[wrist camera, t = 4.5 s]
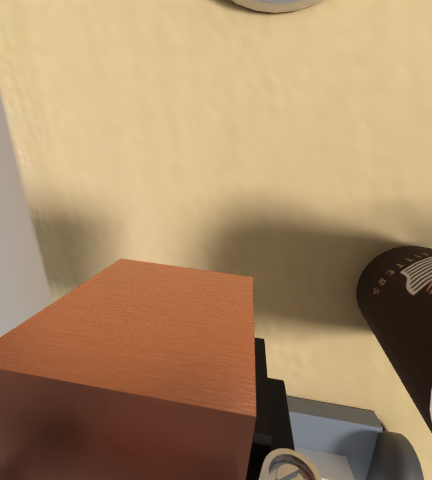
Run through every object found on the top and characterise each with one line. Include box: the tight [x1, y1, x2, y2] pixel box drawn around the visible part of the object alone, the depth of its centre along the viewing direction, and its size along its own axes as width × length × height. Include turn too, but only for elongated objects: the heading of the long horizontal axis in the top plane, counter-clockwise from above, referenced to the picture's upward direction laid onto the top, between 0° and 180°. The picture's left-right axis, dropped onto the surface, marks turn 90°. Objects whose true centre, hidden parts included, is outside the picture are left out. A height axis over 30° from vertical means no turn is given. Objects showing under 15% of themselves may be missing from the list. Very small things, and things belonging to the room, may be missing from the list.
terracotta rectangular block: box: [0, 259, 256, 480], centre depth 8 cm, size 7×5×6 cm
